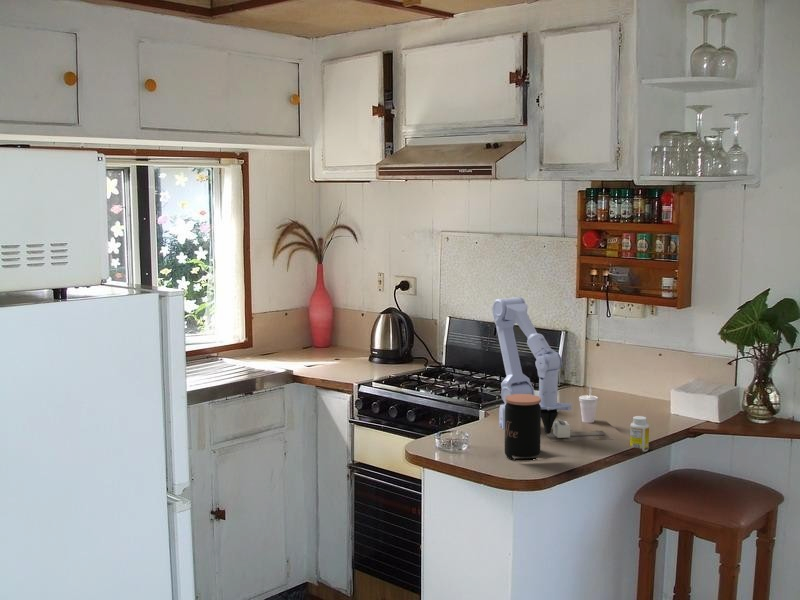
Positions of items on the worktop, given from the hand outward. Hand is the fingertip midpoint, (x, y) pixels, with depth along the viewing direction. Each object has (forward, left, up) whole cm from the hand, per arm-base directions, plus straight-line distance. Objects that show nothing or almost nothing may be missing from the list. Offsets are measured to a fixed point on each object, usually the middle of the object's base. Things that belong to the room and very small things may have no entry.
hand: (547, 432), depth 290 cm
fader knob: (+4, 0, -1) cm, 5 cm away
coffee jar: (-12, -14, -3) cm, 18 cm away
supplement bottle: (+25, -12, -3) cm, 28 cm away
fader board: (+10, 0, -3) cm, 10 cm away
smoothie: (+18, +17, -3) cm, 25 cm away
